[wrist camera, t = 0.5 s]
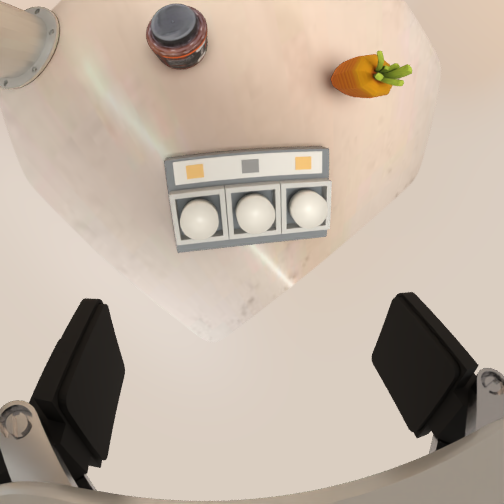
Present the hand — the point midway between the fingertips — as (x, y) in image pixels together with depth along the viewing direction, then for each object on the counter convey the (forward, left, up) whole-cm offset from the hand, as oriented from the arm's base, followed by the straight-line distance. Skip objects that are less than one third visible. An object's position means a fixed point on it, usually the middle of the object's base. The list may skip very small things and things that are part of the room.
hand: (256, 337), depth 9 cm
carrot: (+16, +11, -31) cm, 36 cm away
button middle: (+4, -5, -27) cm, 28 cm away
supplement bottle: (-3, +16, -31) cm, 35 cm away
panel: (+4, -4, -31) cm, 31 cm away
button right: (+10, -5, -27) cm, 29 cm away
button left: (-3, -5, -27) cm, 28 cm away
